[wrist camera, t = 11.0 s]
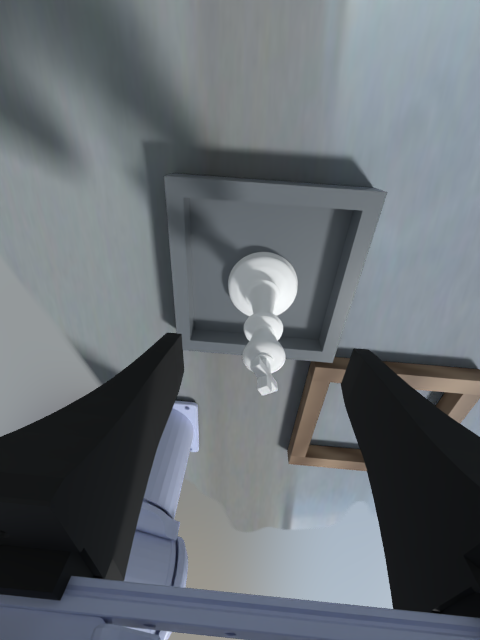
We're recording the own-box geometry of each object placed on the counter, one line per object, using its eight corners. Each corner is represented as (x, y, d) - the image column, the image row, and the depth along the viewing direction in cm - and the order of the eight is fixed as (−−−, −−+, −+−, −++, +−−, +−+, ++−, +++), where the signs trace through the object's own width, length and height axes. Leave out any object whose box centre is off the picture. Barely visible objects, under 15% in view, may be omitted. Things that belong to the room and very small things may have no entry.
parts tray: (183, 334, 23) (177, 349, 21) (173, 173, 16) (163, 175, 15) (327, 346, 23) (332, 362, 21) (373, 187, 16) (387, 192, 14)
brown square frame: (287, 450, 31) (288, 463, 29) (312, 355, 23) (315, 367, 22) (412, 462, 30) (419, 476, 29) (479, 369, 23) (492, 382, 22)
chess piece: (249, 324, 21) (242, 440, 13) (215, 272, 19) (179, 370, 11) (308, 297, 20) (345, 409, 11) (278, 238, 18) (296, 320, 9)
